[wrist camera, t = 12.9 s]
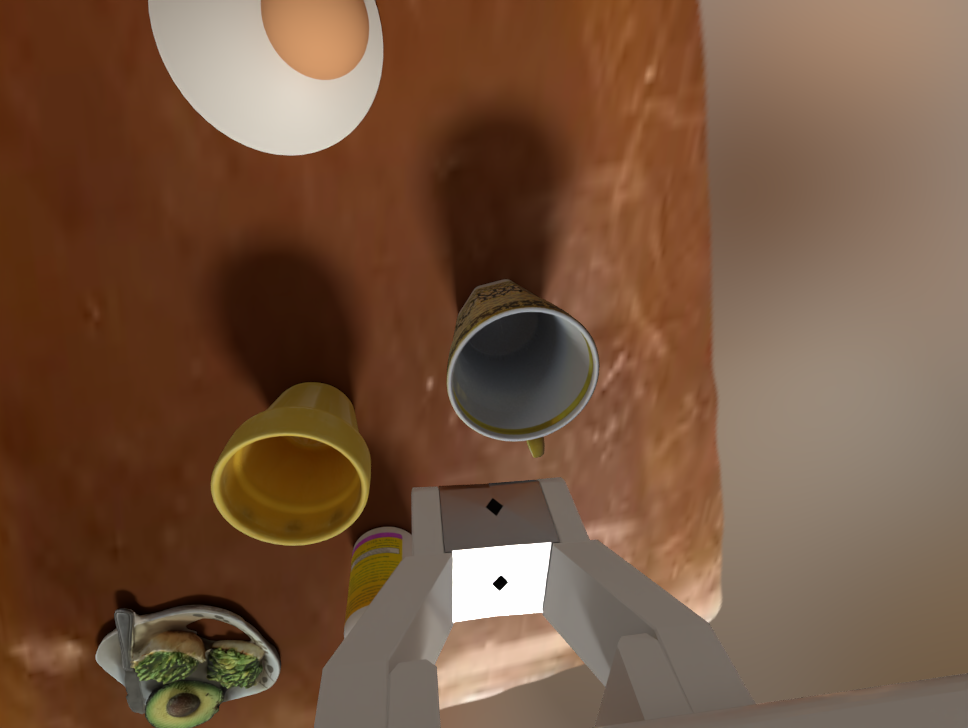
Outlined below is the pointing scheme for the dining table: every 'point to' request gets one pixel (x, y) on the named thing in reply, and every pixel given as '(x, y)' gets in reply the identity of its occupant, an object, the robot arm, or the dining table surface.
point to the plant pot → (295, 469)
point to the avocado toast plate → (184, 664)
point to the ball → (317, 34)
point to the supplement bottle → (373, 567)
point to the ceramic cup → (519, 365)
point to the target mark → (260, 77)
